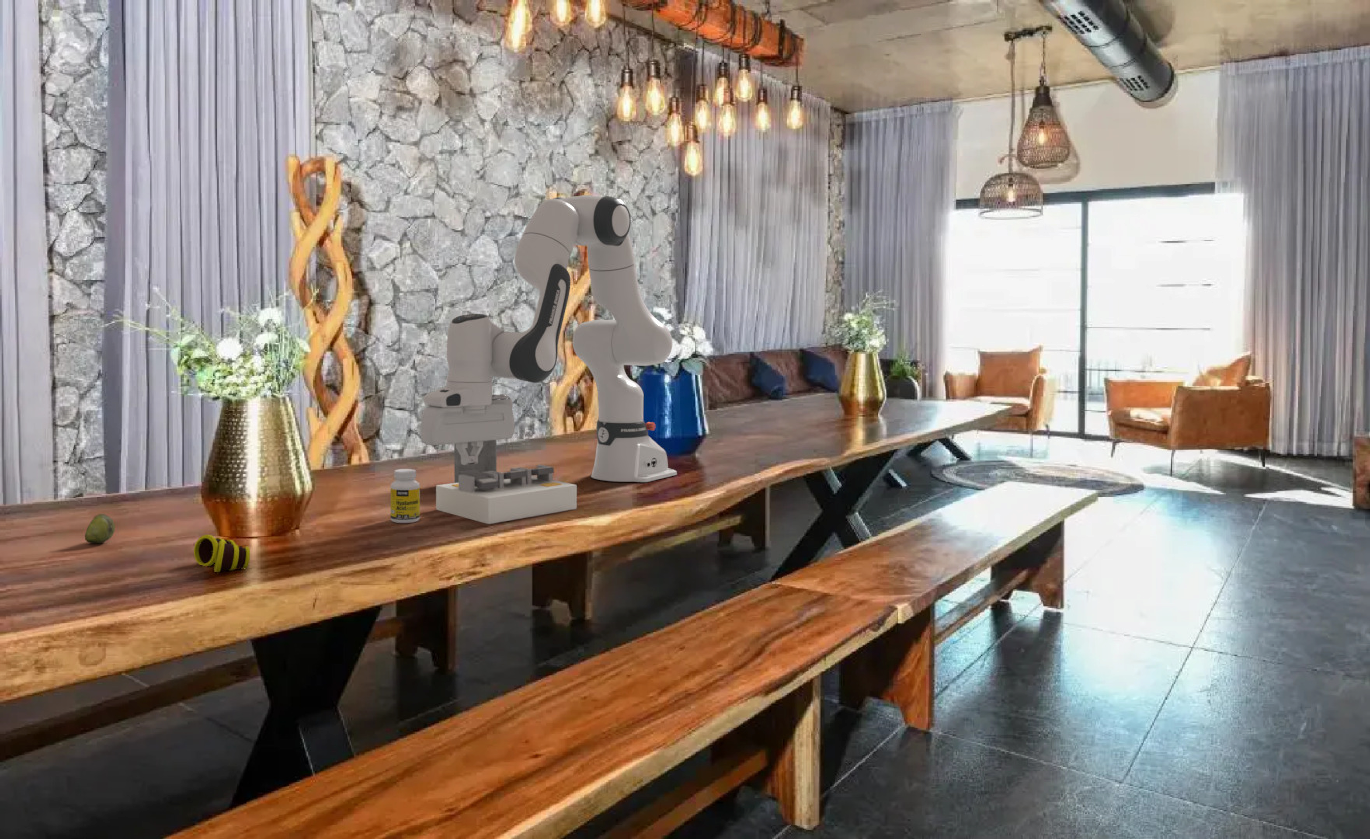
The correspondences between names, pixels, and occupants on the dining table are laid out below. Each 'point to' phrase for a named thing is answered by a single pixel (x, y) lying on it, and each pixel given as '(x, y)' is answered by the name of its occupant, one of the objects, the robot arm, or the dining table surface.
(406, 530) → the dining table surface
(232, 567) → the brown and yellow tube
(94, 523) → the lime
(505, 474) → the rocker
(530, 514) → the switch console
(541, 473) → the rocker
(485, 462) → the hip flask
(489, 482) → the rocker
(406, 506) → the supplement bottle
